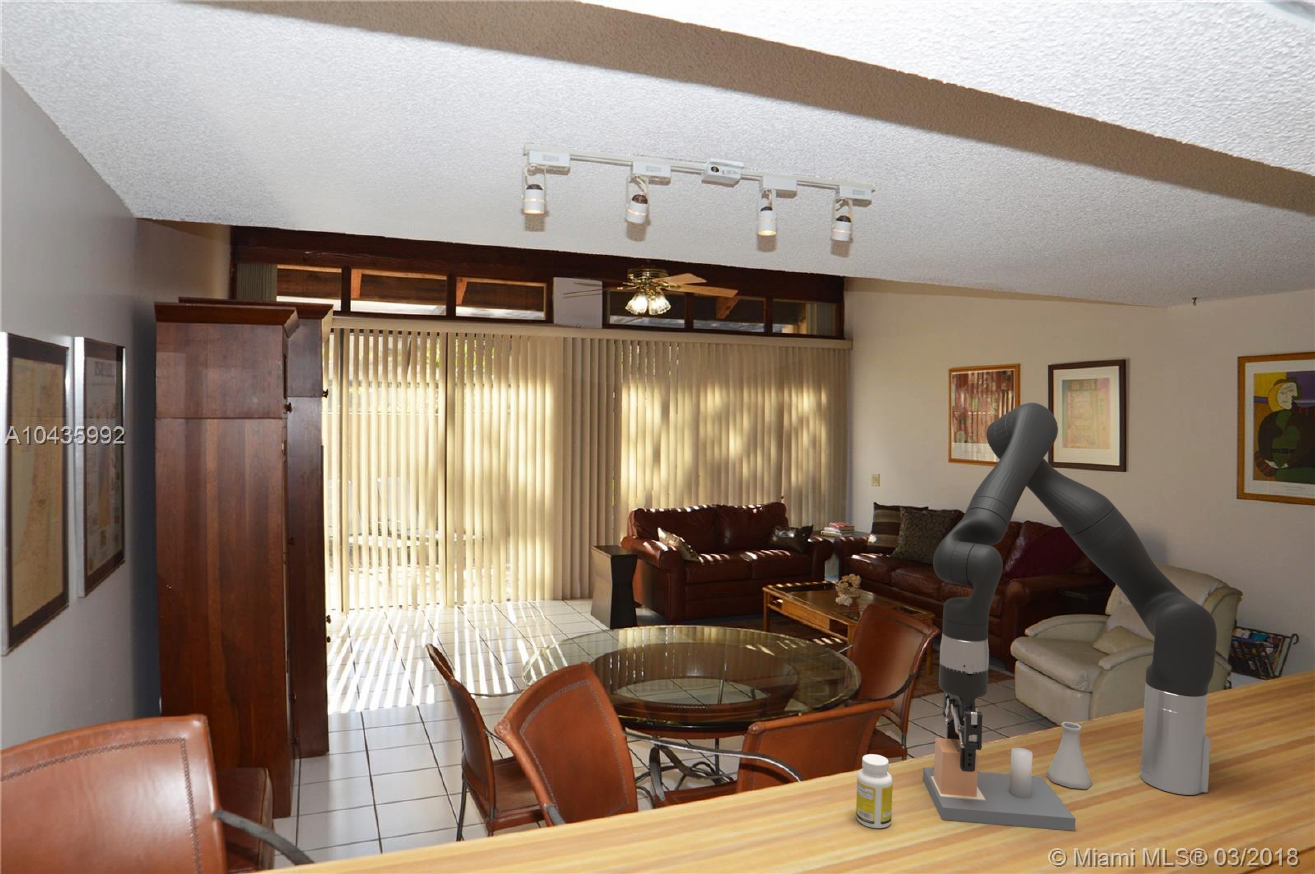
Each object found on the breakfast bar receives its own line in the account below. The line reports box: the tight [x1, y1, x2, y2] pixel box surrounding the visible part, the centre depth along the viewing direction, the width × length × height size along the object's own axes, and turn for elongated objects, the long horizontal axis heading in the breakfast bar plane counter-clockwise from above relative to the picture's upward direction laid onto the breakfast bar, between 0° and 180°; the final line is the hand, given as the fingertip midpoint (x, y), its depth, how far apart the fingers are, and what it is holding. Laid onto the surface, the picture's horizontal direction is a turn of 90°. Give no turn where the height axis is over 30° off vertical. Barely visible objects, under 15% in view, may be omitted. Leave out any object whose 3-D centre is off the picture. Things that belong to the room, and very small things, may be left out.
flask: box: [1046, 721, 1093, 790], centre depth 141 cm, size 7×7×10 cm
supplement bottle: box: [855, 753, 893, 829], centre depth 125 cm, size 5×5×10 cm
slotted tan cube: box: [933, 737, 979, 797], centre depth 132 cm, size 6×6×7 cm
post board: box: [922, 747, 1076, 832], centre depth 132 cm, size 20×14×9 cm
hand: (960, 759), depth 132 cm, fingers open, 8 cm apart
